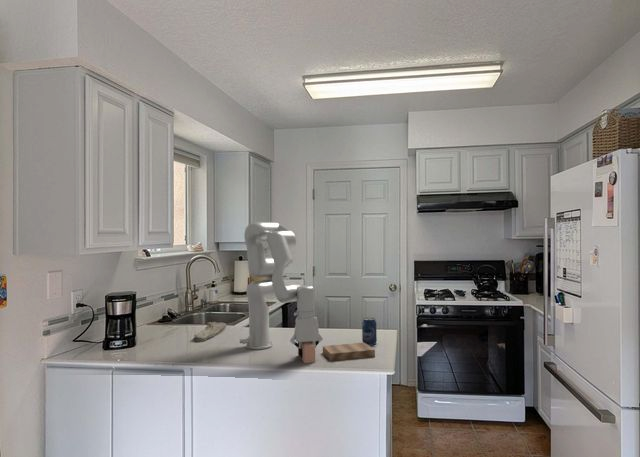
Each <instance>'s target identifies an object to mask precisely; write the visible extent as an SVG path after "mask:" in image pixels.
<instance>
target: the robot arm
mask: <svg viewBox="0 0 640 457" xmlns="http://www.w3.org/2000/svg"><path fill="white" fill-rule="evenodd" d="M243 234H244V236H243V237H244V242H245V247H246V251H247V252H246V253H247V256H246V257H247V268H248V269H247V270H248V274H249V276H250V277H251V278H253V279H259V278H265V279H262V280H254V281H251V282H249V284H247V286H246V290H245V291H246V298H247V301H248V302H247V304H248V325H249V326H248V327H249V328H248V330H249V331H248V333H249V334H248V335H249V336H248V337H245V338H240V339H239V344H243V345H245V344H246V345H245V347H246V348H247V349H249V350H265V349H270V348H271V347H273V344H274V343H273V342H272V341H270V311H269V310H270V309H269V306H268V304H267V302H266V300H270V299H277V300H278V301H279V303H282V304H286V303H293V302H296V304H297V307H296V308H297V309H296V311H295V312H294V313H293V315H294V317H296V318H295V323H294V334H293V335H292V337H291V339H290V340H289V342H290V343H291V344H293V345H295V347H296V348H297V349H298V350H297V354H298V357H299V358H300V359H301V358H302V342H312V343H313V344H314V345H315V349H316V348H317V346H318V345H319V343H321V342H322V341H323V340H324V339H323V337H322V335H321V334H320V331H319V323H318V317H316V314H315V313H316V311H315V310H316V309H315V304H316V303H315V287H313V286H312V285H303V284H300V283H294V284H293V283H292V284H285V280H284V272H285V270H286V268H287V267H289V266H291V265H292V263H293V262H294V260H293V256H292V253H291V250H290V249H292V248H294V247H295V246H296V244H297V238H296V235H295V233H294V232H293V231H292V230H290V229H289V228H287V227H286V226H284V225H283V224H281V223H280V222H276V221H275V222H274V221H256V222H255V221H254V222H251V223H249V224H247V226H246V228H245V230H244V233H243ZM261 240H265V241H266V240H267V244H268V247H269V251H270V253H271V257H268V256H267V257H266V250H265V247H264V244H263V243H262V241H261Z"/></svg>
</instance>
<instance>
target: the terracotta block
mask: <svg viewBox="0 0 640 457" xmlns="http://www.w3.org/2000/svg"><path fill="white" fill-rule="evenodd" d="M300 359H301V360H302V361H303V363H304V364H309V363H316V348H315V345H314V344H313V343H312V342H302V358H300Z"/></svg>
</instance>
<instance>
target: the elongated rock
mask: <svg viewBox="0 0 640 457" xmlns="http://www.w3.org/2000/svg"><path fill="white" fill-rule="evenodd" d="M226 328H227V324H226V323H225V322H216V321H212V322H211V321H209V322H206V327H205V328H204V329H203V330H201V331H200V332H198V333H196V334H194V337H193V341H194V342H197V343H203V342H205V341H208V340H210V339H212V338H214V337H216V336H217V335H219V334H220V333H222V332H223V331H224V330H225V329H226Z"/></svg>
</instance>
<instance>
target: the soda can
mask: <svg viewBox="0 0 640 457" xmlns="http://www.w3.org/2000/svg"><path fill="white" fill-rule="evenodd" d="M361 331H362V334H361V335H362V336H361V338H362V339H361V340H362V343H366V344H367V345H369V346H374V345H376V343H377V340H378V339H377V338H378V337H377V334H378V333H377V331H378V330H377V321H376V318H375V317H363V320H362V321H361Z"/></svg>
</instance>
